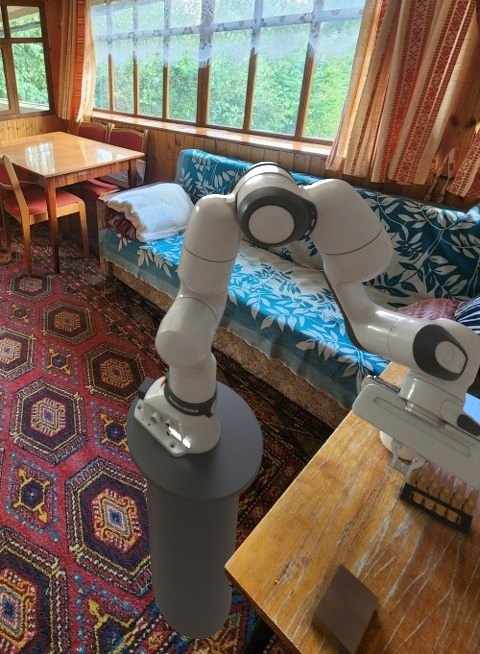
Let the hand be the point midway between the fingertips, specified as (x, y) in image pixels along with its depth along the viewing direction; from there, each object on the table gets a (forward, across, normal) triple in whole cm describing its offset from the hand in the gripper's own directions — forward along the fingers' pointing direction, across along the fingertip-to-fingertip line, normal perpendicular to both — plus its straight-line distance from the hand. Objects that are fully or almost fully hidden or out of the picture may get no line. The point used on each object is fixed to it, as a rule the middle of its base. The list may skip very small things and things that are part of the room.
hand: (399, 472), depth 67 cm
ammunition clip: (+4, +5, +18) cm, 19 cm away
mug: (-4, -2, +26) cm, 27 cm away
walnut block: (+20, +1, 0) cm, 20 cm away
